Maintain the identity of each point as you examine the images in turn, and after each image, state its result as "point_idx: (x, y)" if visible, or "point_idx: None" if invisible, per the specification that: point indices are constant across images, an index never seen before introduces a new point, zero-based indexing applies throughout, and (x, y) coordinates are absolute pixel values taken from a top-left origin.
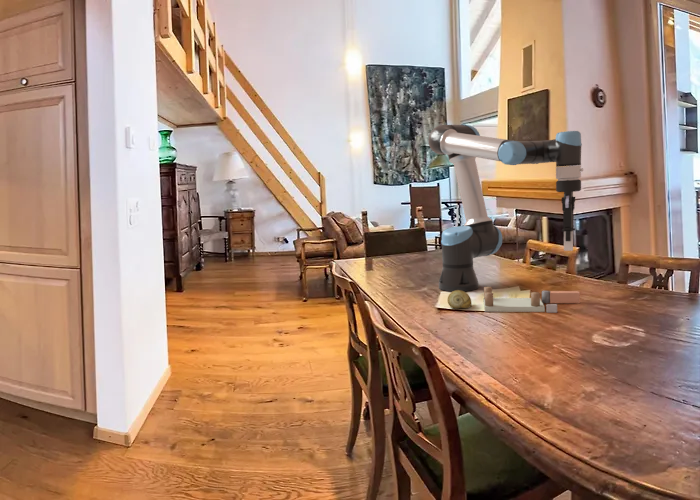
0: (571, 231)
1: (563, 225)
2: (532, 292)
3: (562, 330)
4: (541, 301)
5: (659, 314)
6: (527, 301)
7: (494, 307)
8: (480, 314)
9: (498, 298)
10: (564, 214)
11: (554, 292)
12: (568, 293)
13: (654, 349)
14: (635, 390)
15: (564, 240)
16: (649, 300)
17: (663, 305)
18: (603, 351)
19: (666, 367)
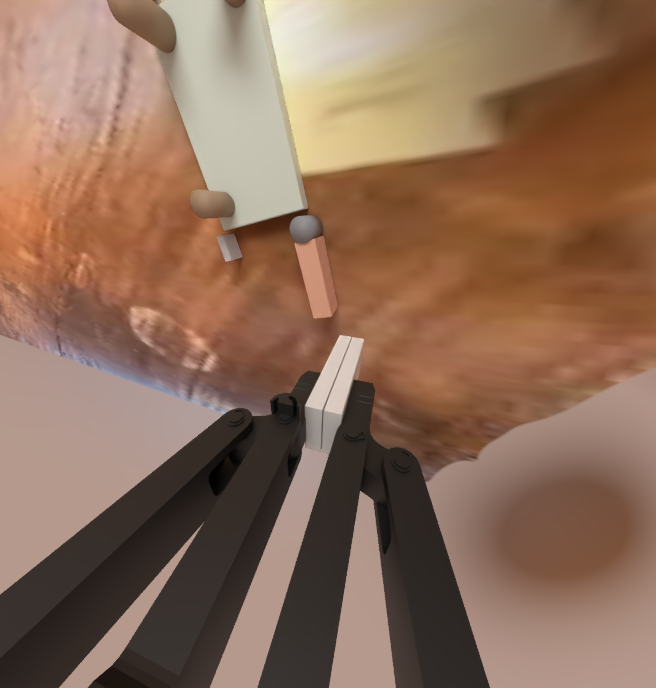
0: (305, 441)
1: (198, 435)
2: (203, 193)
3: (145, 267)
4: (267, 218)
5: None
6: (254, 174)
7: (163, 64)
8: None
9: (256, 37)
10: (61, 557)
11: (302, 255)
12: (307, 291)
13: (149, 363)
14: (50, 325)
15: (325, 368)
16: None
17: None
18: (109, 314)
19: (112, 360)
